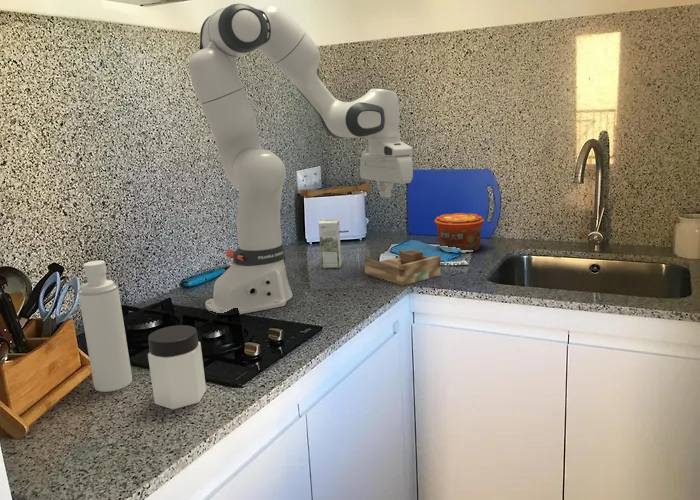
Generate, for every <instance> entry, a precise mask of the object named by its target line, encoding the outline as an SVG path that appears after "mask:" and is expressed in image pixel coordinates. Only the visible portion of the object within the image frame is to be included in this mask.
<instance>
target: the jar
mask: <svg viewBox="0 0 700 500" xmlns="http://www.w3.org/2000/svg"><path fill="white" fill-rule="evenodd" d="M198 335H199V334H198V330H197V328H195V327H194V326H191V325H184V324H183V325H182V324H180V325H179V324H178V325H170V326H165V327H163V328H159V329H156V330H154V331H153V332H151V333H150V334H149V335H148V337H147V341H148V347H149V348H148V350H149V352H148V353H147V359H148V360H147V361H148V364H149V366H148V367H149V372H150V378H151V379H150V380H151V385H152V388H151V389H152V394H153V401H154V404H155V405H158V406H161V407H162V408H163V407H164V408H167V409H170V410H172V411H175V410H177V409H180V408H184V407H188V406H191V405H195V404H199V403H200V402H201V400H202V398H203V397H204V395H205V393H206V392H207V386H206V379H205V378H206V377H205V369H204V361H203V352H202V345H201V343H202V342H201V341H199V337H198Z"/></svg>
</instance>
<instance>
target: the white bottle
mask: <svg viewBox="0 0 700 500" xmlns="http://www.w3.org/2000/svg"><path fill="white" fill-rule="evenodd" d="M83 271H84V275H85V276H86V281H87V283H86V282H85V283H84V284H82V285H81V288H79V289H78V291H77V292H78V298H79V306H80V310H81V311H80V312H81V317H82V322H83V328H84V334H85V339H86V347H87V353H88V359H89V363H90V371H91V376H92V382H93V388H94V389H95V390H96V391H98V392H101V393H102V392H103V393H104V392H105V393H107V392H108V393H109V392H115V391H116V392H117V391H120V390H122V389H124V388H126V387H128V386H129V385H130V384H131V383H132V382H133V376H132V375H133V374H132V367H131V362H130V355H129V349H128V342H127V334H126V329H125V324H124V323H125V322H124V315H123V310H122V303H121V298H120V290H119V285H118V283H115V282H114V281H113V280H111V279H107V275H106V273H107V267H106V261H104V260H99V259H98V260H93V261H92V260H91V261H88V262H85V263H83Z"/></svg>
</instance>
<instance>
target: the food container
mask: <svg viewBox="0 0 700 500" xmlns="http://www.w3.org/2000/svg"><path fill="white" fill-rule="evenodd" d="M433 222H434V224H435V225H436V230H437V231H436V232H437V238H438V243H439V244H438V245H440V246H448V247H456V248H460V249H461V250H473V252H472V253H475V252H477V251H479V250H480V246H481V236H482V230H483V224H484V222H485V219H484V217H483V216H482V215H479V214H477V213H465V212H459V213H458V212H457V213H456V212H455V213H451V214H450V213H445V214H441V215H439V216H436V218H435V219H434V221H433ZM440 246H439V247H440Z"/></svg>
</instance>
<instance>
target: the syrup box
mask: <svg viewBox="0 0 700 500" xmlns="http://www.w3.org/2000/svg"><path fill="white" fill-rule="evenodd" d="M340 231H341V230H340V219H339V218H327V219H326V218H325V219H320V220H319V222H318V234H319V236H318V237H319V250H320V251H319V252H320V262H321V263H320V265H321V269H340V267H341V265H342V253H341V252H342V251H341V232H340Z"/></svg>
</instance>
